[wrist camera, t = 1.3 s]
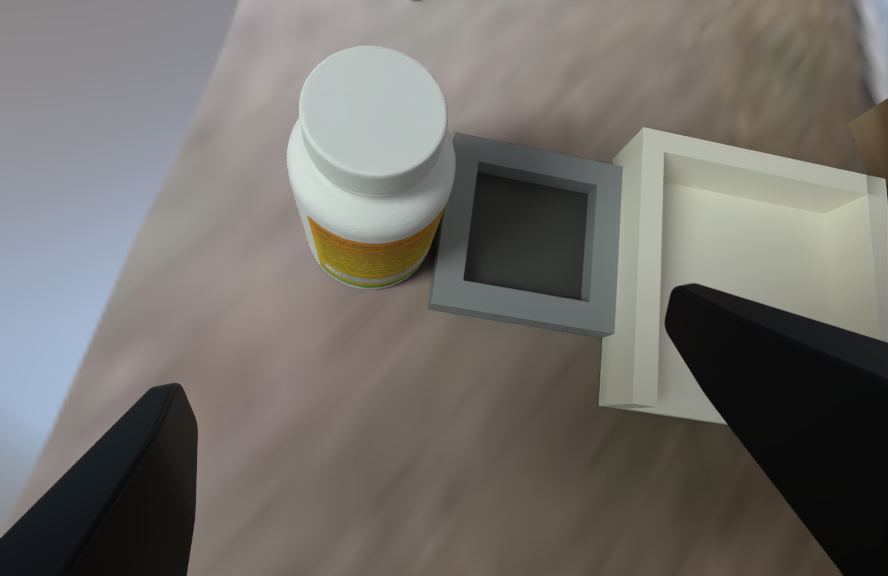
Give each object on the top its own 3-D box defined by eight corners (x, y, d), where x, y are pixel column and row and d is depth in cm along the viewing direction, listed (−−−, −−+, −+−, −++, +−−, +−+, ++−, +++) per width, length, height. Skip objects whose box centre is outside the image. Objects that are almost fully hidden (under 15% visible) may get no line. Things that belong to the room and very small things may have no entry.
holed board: (602, 337, 24) (614, 333, 23) (427, 309, 23) (431, 303, 22) (611, 177, 26) (622, 166, 25) (451, 145, 25) (455, 132, 24)
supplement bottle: (452, 256, 24) (512, 149, 14) (345, 314, 22) (334, 237, 13) (392, 158, 24) (412, -5, 15) (285, 208, 23) (233, 64, 14)
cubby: (845, 442, 24) (910, 445, 21) (598, 405, 23) (632, 403, 20) (830, 204, 27) (885, 178, 24) (612, 159, 26) (643, 127, 23)
